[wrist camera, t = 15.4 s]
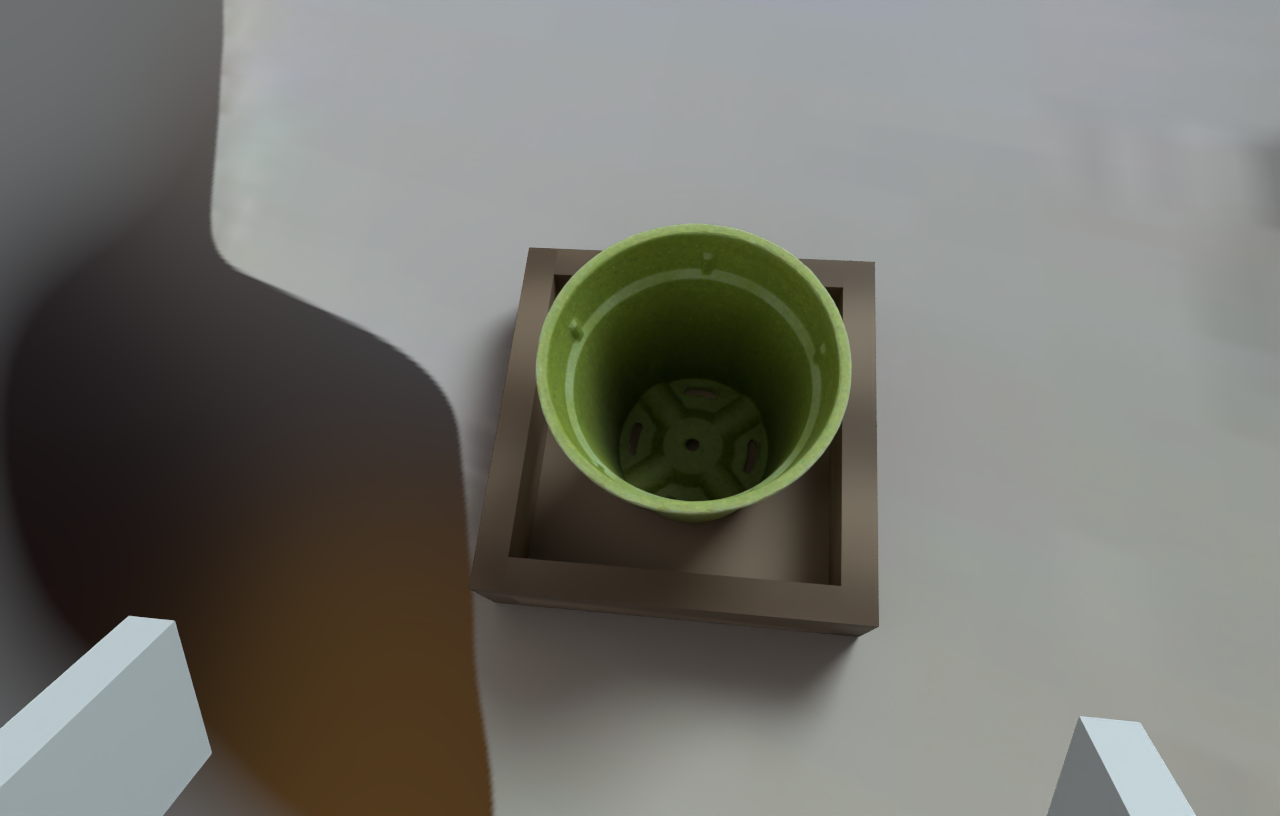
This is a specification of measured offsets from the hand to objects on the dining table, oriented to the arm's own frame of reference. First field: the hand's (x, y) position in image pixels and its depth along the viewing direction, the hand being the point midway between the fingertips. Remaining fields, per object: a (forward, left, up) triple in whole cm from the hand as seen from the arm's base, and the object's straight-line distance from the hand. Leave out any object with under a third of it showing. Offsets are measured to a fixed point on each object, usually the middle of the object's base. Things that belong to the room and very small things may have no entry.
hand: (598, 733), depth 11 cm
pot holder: (-9, -5, -18) cm, 21 cm away
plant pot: (-9, -5, -17) cm, 20 cm away
